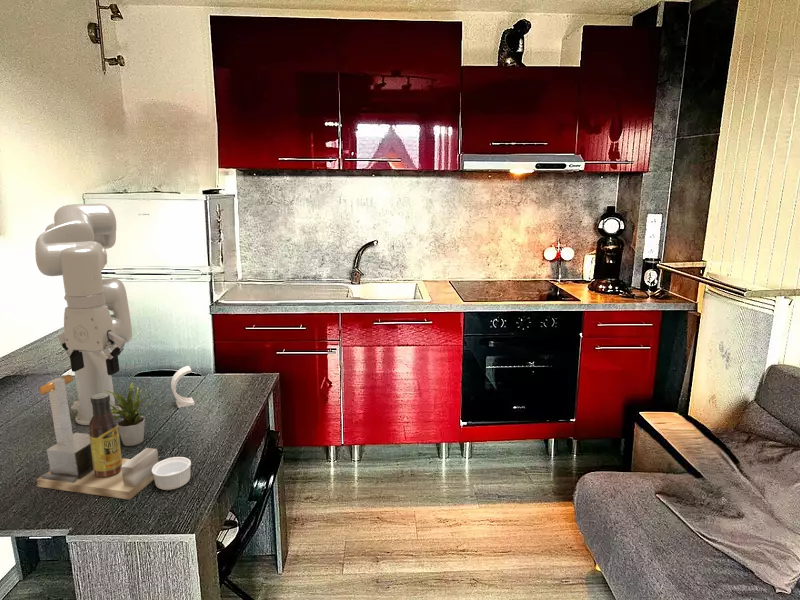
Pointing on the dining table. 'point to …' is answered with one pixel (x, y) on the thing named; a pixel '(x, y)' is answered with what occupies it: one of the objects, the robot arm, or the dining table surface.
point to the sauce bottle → (104, 438)
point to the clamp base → (109, 478)
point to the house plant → (129, 418)
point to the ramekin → (171, 473)
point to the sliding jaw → (66, 435)
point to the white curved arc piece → (180, 400)
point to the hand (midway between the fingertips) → (95, 371)
